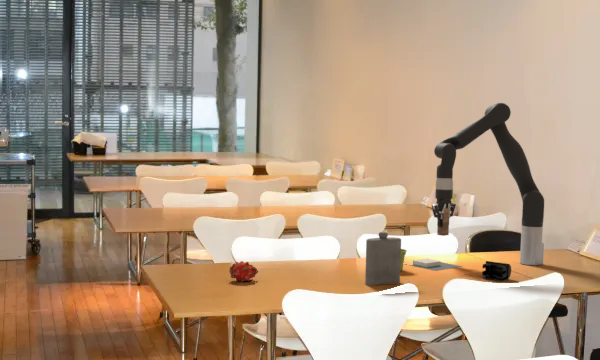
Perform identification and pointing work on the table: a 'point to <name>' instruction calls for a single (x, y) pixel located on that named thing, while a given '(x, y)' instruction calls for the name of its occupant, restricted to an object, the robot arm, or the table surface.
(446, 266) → the mat
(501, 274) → the end cap
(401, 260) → the plant pot
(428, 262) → the tile
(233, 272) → the dragon fruit
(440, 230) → the walnut stick
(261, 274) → the table surface
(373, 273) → the flask
